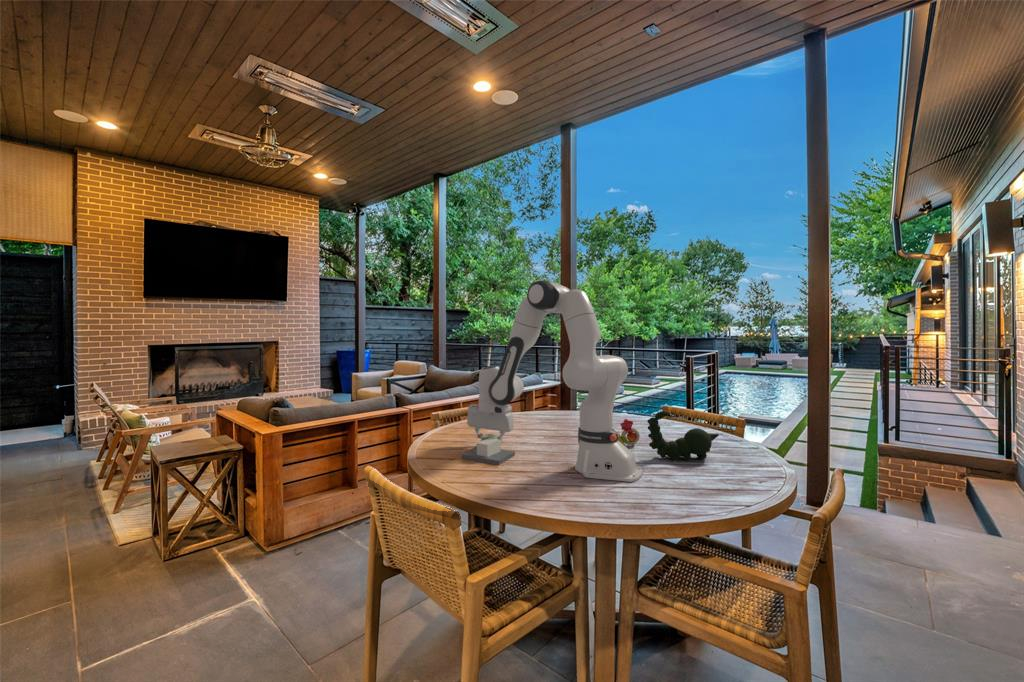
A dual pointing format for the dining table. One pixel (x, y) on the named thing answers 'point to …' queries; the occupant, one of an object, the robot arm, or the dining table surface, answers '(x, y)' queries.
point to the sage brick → (489, 436)
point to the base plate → (492, 459)
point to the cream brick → (488, 447)
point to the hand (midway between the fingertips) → (489, 439)
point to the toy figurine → (679, 441)
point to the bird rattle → (631, 436)
